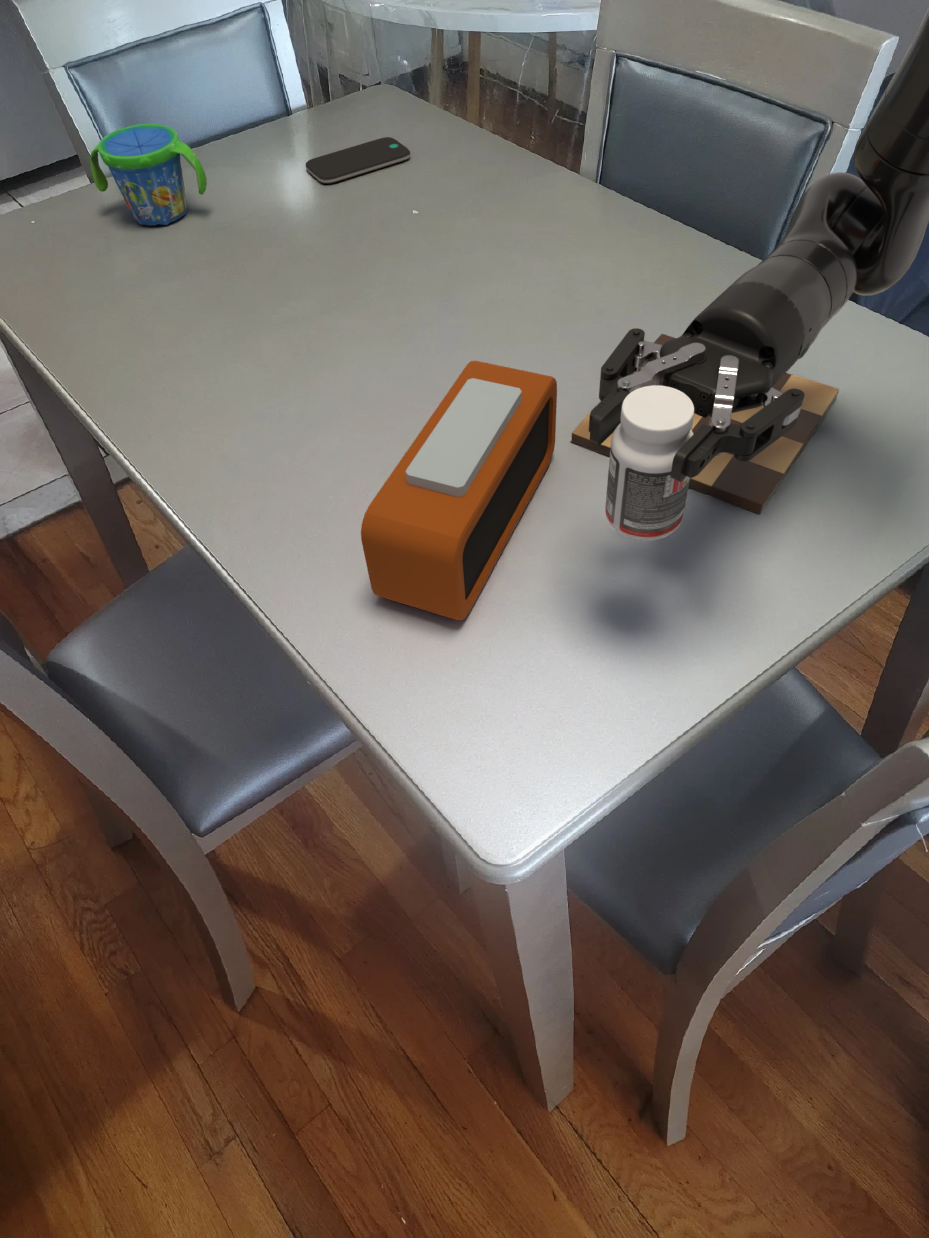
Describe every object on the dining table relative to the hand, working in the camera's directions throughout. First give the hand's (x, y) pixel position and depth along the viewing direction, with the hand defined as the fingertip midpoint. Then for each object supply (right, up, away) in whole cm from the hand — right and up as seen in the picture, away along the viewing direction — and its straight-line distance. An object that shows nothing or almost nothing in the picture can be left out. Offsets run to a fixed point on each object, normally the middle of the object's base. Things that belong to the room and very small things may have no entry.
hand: (635, 450), depth 57 cm
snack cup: (-54, +46, +66) cm, 97 cm away
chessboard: (+13, +9, +32) cm, 36 cm away
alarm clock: (-11, -2, +24) cm, 27 cm away
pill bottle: (+2, -4, +8) cm, 9 cm away
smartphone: (-27, +57, +73) cm, 96 cm away
